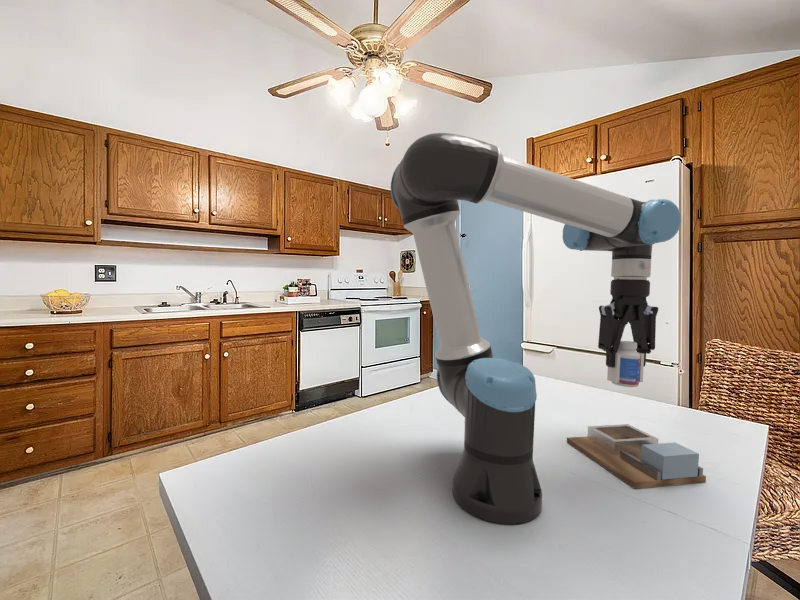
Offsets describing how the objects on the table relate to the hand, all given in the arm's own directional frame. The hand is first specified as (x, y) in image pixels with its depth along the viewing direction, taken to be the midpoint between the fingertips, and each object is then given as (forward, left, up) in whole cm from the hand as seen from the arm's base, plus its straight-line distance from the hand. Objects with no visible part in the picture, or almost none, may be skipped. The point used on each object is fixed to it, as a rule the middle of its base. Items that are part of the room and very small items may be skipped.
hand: (624, 380), depth 84 cm
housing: (0, -12, -15) cm, 19 cm away
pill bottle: (0, 0, -1) cm, 1 cm away
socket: (0, 0, -15) cm, 15 cm away
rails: (0, -10, -15) cm, 18 cm away
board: (-2, -4, -16) cm, 17 cm away
